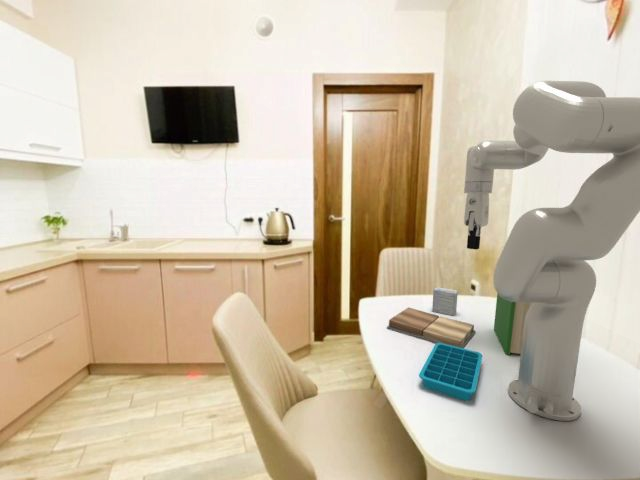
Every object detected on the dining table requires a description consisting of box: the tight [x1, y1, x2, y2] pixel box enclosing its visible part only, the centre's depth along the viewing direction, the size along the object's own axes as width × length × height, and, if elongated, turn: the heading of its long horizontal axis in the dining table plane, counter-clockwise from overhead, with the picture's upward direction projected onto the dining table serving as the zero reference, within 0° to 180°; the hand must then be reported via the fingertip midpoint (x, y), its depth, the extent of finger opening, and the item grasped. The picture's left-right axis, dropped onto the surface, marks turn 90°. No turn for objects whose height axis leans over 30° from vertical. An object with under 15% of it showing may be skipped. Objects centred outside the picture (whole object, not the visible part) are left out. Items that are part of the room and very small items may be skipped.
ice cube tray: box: [418, 343, 483, 402], centre depth 77 cm, size 12×20×3 cm, turn 148°
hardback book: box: [493, 292, 532, 357], centre depth 92 cm, size 18×7×24 cm, turn 161°
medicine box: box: [431, 287, 459, 316], centre depth 117 cm, size 8×4×9 cm, turn 58°
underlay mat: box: [386, 325, 476, 349], centre depth 101 cm, size 16×23×1 cm
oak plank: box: [423, 316, 475, 348], centre depth 98 cm, size 15×11×2 cm
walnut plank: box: [388, 306, 440, 336], centre depth 105 cm, size 15×11×2 cm
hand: (472, 248), depth 97 cm, fingers closed
